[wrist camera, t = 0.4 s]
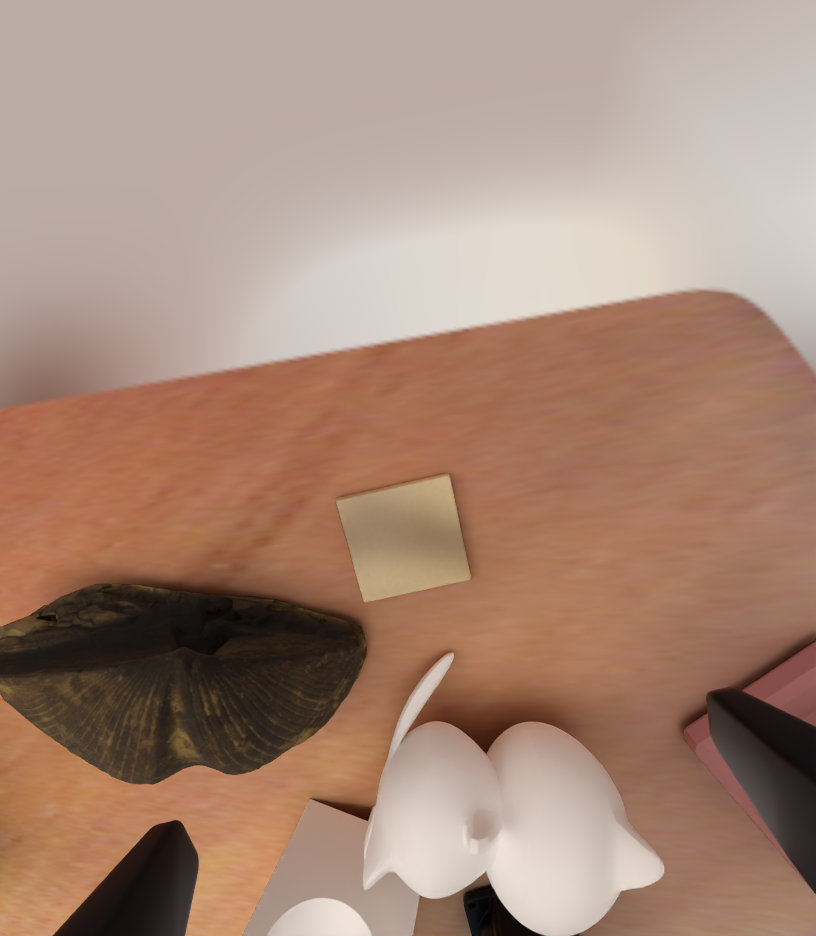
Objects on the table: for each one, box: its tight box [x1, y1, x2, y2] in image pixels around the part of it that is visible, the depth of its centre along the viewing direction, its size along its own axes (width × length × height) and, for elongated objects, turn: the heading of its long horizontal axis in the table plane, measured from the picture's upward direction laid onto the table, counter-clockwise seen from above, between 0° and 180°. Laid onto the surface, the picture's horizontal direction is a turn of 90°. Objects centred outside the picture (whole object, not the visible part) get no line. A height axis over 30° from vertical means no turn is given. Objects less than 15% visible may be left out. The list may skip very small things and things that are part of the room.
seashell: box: [0, 584, 367, 784], centre depth 20 cm, size 16×9×7 cm, turn 82°
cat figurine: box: [363, 652, 664, 936], centre depth 22 cm, size 9×11×12 cm
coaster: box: [336, 473, 471, 603], centre depth 22 cm, size 6×6×1 cm
